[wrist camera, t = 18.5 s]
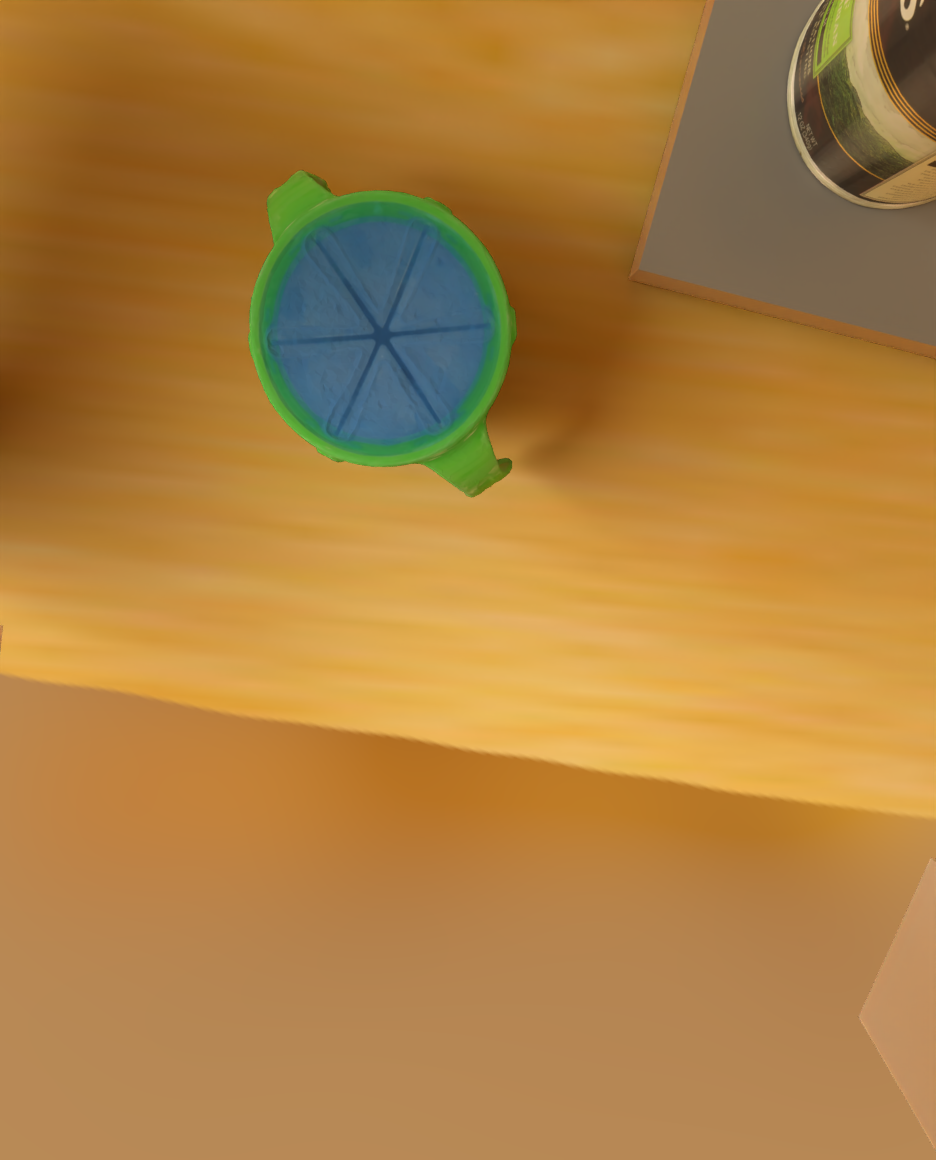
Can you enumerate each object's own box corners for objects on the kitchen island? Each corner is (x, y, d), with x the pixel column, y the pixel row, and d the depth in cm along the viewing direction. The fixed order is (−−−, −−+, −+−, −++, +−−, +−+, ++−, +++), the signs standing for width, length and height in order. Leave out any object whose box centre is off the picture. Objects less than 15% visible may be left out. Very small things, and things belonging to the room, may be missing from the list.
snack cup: (247, 261, 39) (160, 213, 29) (426, 152, 37) (399, 63, 27) (394, 527, 42) (361, 566, 32) (566, 436, 40) (587, 448, 30)
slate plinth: (628, 279, 38) (638, 269, 35) (759, -188, 33) (783, -244, 31) (969, 367, 38) (1007, 365, 35) (1147, -84, 34) (1208, -129, 31)
